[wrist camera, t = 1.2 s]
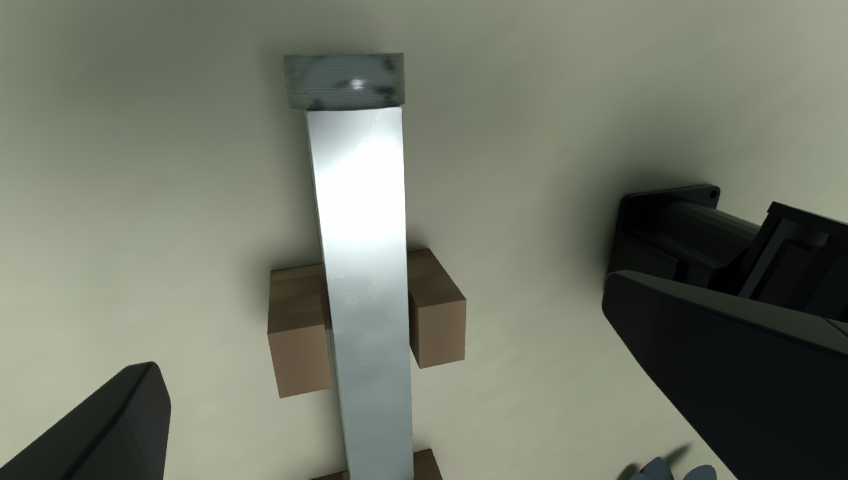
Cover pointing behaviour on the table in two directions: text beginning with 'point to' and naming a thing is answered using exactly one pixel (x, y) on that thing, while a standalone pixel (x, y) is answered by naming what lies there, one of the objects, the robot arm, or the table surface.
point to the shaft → (362, 246)
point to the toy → (659, 475)
